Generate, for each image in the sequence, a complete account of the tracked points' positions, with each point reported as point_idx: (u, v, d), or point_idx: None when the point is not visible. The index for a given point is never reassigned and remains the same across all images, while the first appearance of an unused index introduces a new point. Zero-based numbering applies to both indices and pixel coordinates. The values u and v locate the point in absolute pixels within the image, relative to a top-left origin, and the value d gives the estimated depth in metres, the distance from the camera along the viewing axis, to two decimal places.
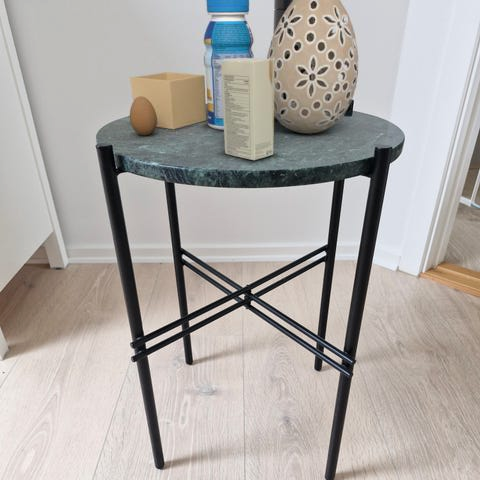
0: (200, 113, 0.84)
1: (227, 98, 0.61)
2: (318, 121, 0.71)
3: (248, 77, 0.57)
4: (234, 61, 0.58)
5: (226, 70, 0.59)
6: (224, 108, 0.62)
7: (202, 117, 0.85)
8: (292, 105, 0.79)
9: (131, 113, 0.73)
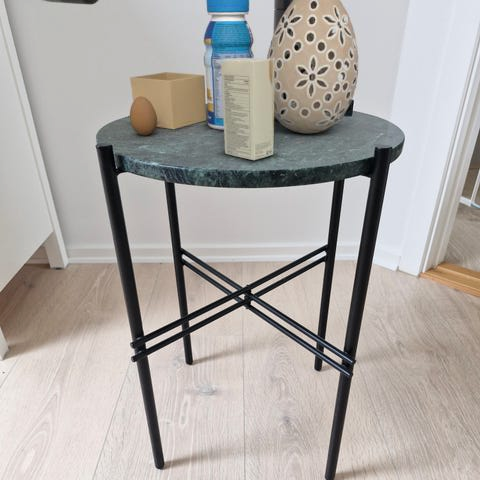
0: (200, 113, 0.84)
1: (227, 98, 0.61)
2: (318, 121, 0.71)
3: (248, 77, 0.57)
4: (234, 61, 0.58)
5: (226, 70, 0.59)
6: (224, 108, 0.62)
7: (202, 117, 0.85)
8: (292, 105, 0.79)
9: (131, 113, 0.73)
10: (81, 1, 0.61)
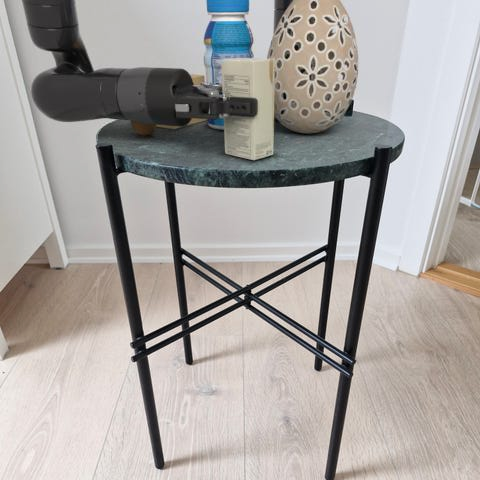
0: None
1: None
2: (318, 121, 0.71)
3: (248, 76, 0.57)
4: (234, 61, 0.58)
5: (226, 70, 0.59)
6: None
7: None
8: (292, 105, 0.79)
9: None
10: (177, 125, 0.66)
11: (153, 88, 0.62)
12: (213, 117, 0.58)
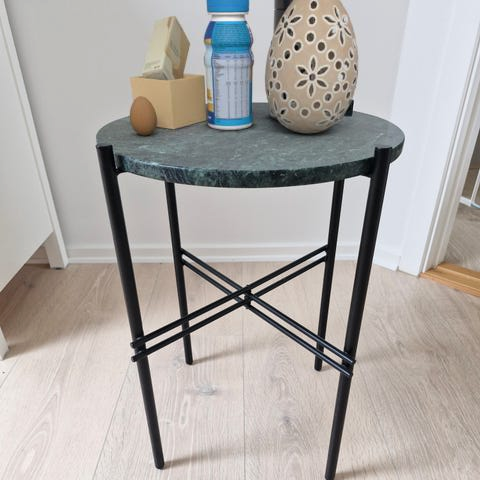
0: (200, 113, 0.84)
1: None
2: (318, 121, 0.71)
3: None
4: None
5: None
6: None
7: (202, 117, 0.85)
8: (292, 105, 0.79)
9: (131, 113, 0.73)
10: None
11: None
12: None
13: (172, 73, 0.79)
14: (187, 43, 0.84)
